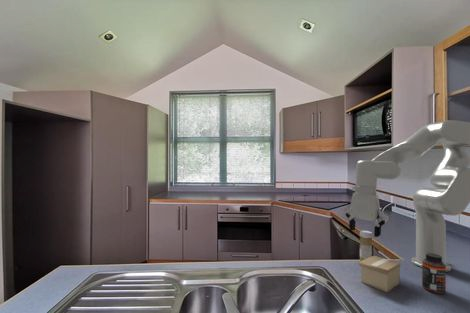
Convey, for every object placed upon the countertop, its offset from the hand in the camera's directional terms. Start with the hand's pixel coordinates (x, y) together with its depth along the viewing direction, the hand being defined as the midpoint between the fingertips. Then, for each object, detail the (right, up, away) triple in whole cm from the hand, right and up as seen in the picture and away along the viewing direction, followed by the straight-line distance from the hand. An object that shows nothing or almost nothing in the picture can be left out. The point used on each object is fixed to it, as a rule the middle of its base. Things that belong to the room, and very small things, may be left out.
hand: (364, 233), depth 97 cm
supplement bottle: (+13, -13, -19) cm, 26 cm away
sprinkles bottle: (0, -13, 0) cm, 13 cm away
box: (-3, -12, -15) cm, 20 cm away
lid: (-3, -6, -15) cm, 17 cm away
